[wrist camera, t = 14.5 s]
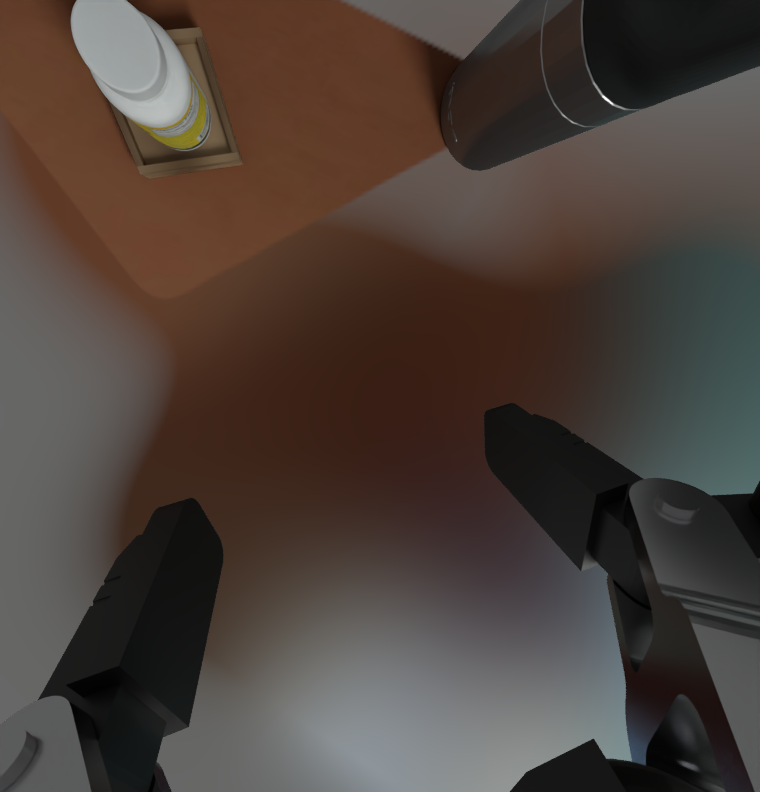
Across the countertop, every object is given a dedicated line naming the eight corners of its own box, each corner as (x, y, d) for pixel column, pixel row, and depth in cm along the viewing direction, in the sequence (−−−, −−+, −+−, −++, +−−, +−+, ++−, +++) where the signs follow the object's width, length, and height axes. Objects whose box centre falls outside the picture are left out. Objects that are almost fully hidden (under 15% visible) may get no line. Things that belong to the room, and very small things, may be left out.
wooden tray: (206, 42, 25) (200, 27, 23) (243, 164, 29) (240, 159, 27) (96, 52, 24) (81, 37, 22) (149, 178, 28) (140, 174, 26)
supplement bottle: (118, 75, 24) (23, -23, 15) (190, 58, 24) (137, -45, 16) (161, 161, 26) (99, 119, 18) (225, 143, 27) (195, 94, 18)
